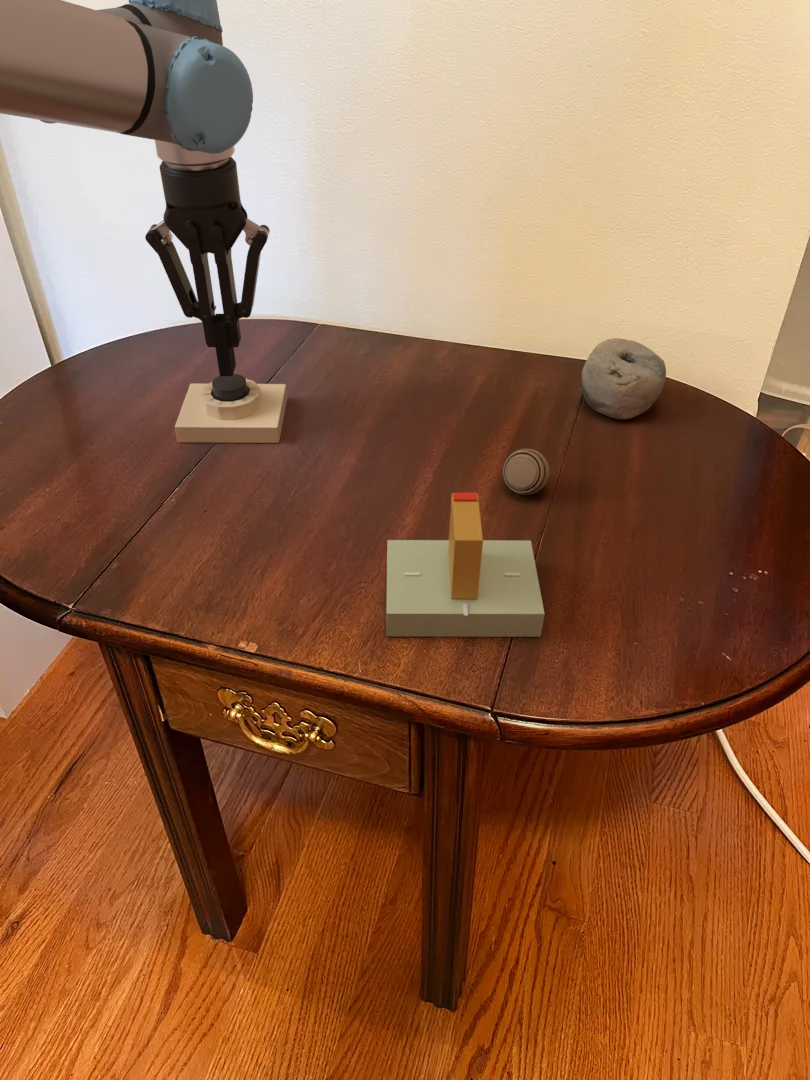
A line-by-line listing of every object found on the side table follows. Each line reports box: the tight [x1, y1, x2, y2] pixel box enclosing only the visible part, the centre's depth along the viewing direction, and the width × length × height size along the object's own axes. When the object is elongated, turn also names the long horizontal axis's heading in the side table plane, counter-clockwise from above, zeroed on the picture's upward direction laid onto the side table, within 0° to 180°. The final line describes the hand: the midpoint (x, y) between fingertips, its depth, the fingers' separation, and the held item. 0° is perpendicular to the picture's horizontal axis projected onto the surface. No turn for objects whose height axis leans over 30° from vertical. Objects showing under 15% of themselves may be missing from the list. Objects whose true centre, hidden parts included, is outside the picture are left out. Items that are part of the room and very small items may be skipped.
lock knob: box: [448, 492, 484, 599], centre depth 75 cm, size 6×2×7 cm, turn 0°
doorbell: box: [174, 377, 288, 444], centre depth 101 cm, size 12×10×4 cm
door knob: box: [502, 448, 551, 496], centre depth 91 cm, size 5×5×5 cm
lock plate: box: [385, 539, 546, 638], centre depth 79 cm, size 14×11×3 cm
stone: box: [581, 337, 667, 420], centre depth 104 cm, size 10×10×10 cm
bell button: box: [211, 373, 248, 402], centre depth 100 cm, size 4×4×2 cm
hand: (227, 370), depth 98 cm, fingers closed
